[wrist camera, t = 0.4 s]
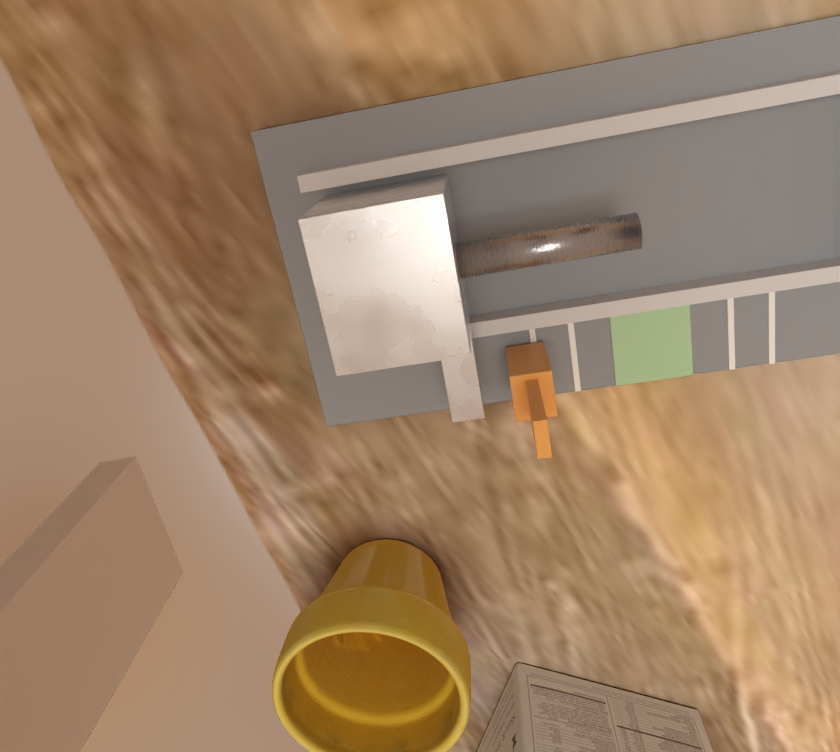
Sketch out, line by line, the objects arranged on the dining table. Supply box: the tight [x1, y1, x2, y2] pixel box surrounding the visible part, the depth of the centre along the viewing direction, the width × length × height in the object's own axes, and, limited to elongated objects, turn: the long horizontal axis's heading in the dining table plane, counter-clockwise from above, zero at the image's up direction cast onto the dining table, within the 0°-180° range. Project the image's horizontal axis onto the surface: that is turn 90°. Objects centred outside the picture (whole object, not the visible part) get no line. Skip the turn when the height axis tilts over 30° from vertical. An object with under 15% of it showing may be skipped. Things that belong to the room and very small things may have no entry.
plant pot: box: [272, 539, 471, 752], centre depth 42 cm, size 10×10×10 cm
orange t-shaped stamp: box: [505, 342, 557, 459], centre depth 35 cm, size 2×2×8 cm
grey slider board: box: [251, 15, 840, 426], centre depth 33 cm, size 16×32×8 cm, turn 101°
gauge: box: [298, 173, 642, 422], centre depth 34 cm, size 12×14×6 cm
